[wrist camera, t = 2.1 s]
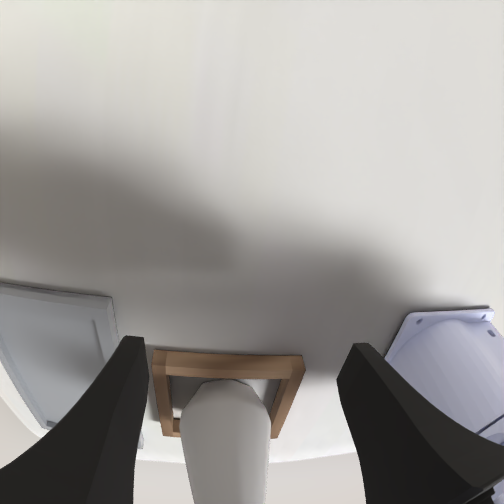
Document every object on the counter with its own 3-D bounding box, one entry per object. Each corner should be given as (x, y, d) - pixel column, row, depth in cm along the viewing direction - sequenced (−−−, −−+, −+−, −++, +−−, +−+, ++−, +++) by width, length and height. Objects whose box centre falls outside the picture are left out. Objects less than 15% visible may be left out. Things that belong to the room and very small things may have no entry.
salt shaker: (209, 423, 22) (216, 580, 10) (164, 386, 19) (153, 576, 8) (279, 402, 21) (311, 571, 9) (243, 359, 18) (269, 578, 7)
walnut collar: (301, 355, 18) (305, 369, 17) (274, 426, 23) (277, 438, 21) (154, 349, 17) (151, 364, 16) (164, 423, 21) (162, 435, 20)
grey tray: (111, 297, 15) (106, 309, 14) (143, 439, 23) (142, 449, 22) (-24, 278, 14) (-32, 287, 13) (44, 419, 21) (42, 428, 20)
